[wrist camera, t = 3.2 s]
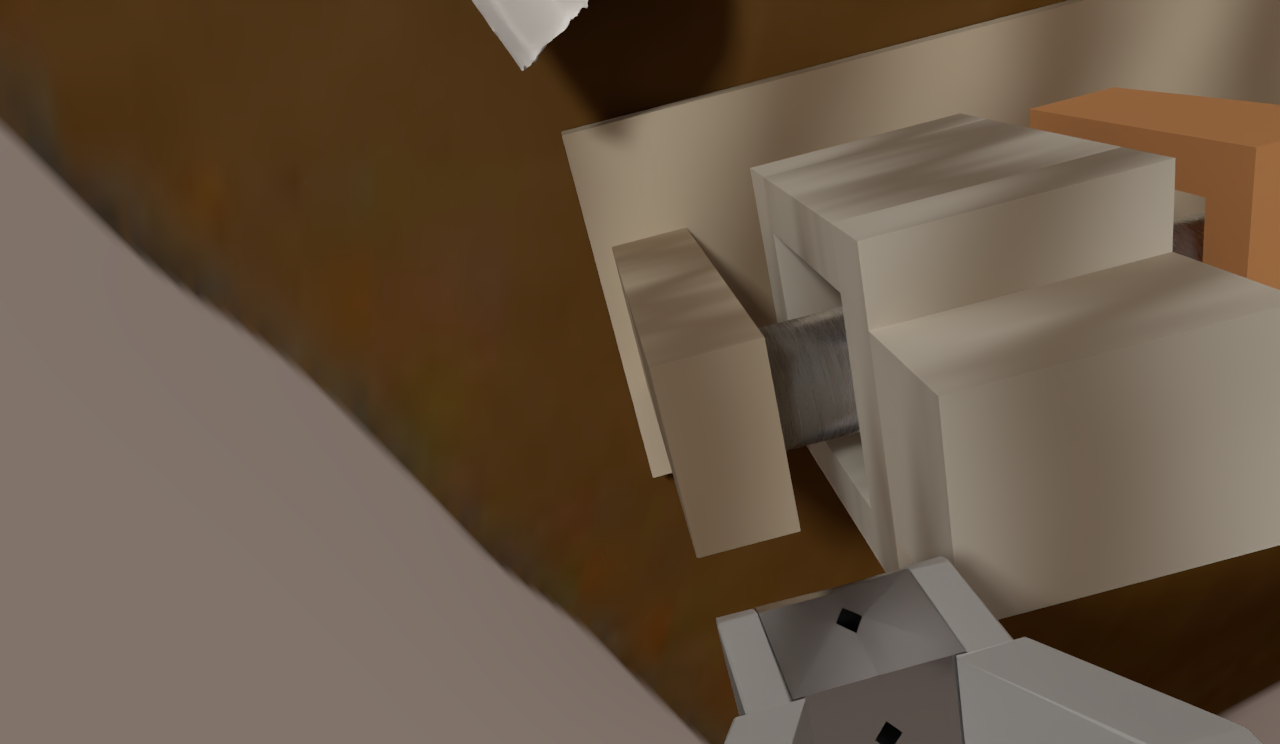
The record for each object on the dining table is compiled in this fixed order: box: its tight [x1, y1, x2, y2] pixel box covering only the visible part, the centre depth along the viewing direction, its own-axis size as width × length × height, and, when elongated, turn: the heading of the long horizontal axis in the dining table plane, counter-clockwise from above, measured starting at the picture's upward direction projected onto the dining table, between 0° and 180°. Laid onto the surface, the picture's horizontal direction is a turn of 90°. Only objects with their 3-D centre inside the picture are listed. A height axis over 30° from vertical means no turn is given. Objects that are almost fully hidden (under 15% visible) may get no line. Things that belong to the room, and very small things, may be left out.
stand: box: [561, 0, 1280, 558], centre depth 19 cm, size 24×10×9 cm, turn 103°
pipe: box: [758, 212, 1205, 451], centre depth 16 cm, size 19×3×3 cm, turn 103°
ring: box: [1029, 87, 1280, 290], centre depth 17 cm, size 2×6×6 cm, turn 13°
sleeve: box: [750, 113, 1280, 620], centre depth 16 cm, size 5×7×10 cm
